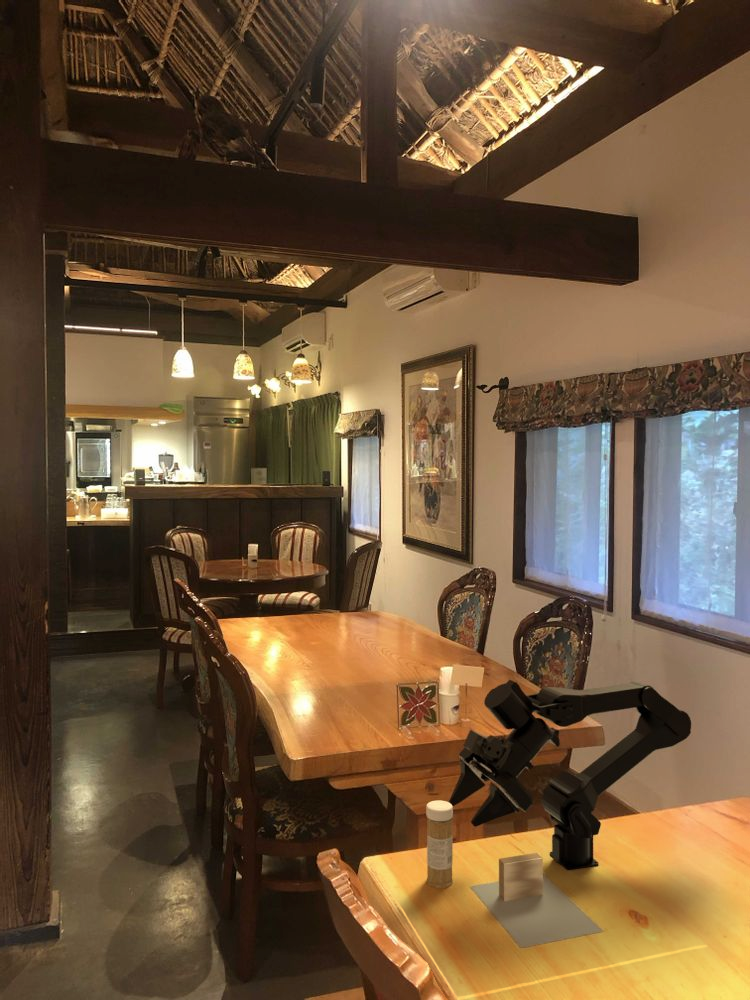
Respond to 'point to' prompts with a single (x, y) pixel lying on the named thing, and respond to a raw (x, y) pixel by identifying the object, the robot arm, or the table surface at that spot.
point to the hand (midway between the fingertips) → (461, 814)
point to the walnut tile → (520, 876)
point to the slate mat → (537, 915)
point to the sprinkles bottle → (439, 844)
